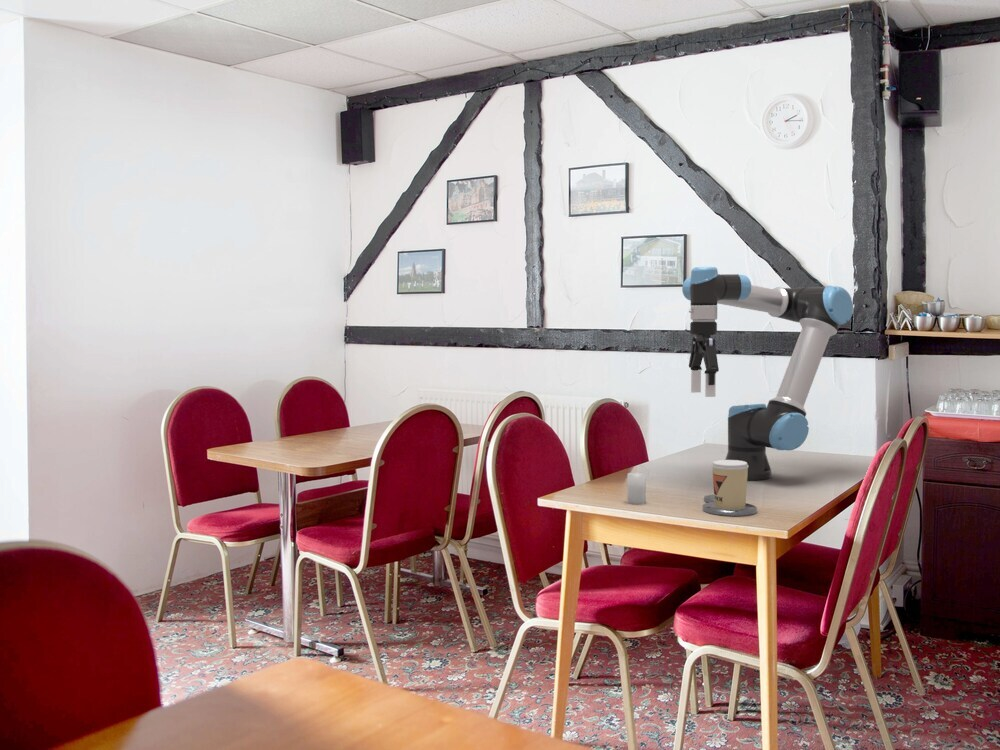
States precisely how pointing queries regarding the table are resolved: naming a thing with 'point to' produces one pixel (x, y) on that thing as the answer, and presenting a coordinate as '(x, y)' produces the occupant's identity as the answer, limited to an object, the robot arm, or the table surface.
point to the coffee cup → (730, 484)
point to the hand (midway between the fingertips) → (702, 394)
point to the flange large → (712, 509)
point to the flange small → (709, 498)
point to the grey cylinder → (636, 488)
